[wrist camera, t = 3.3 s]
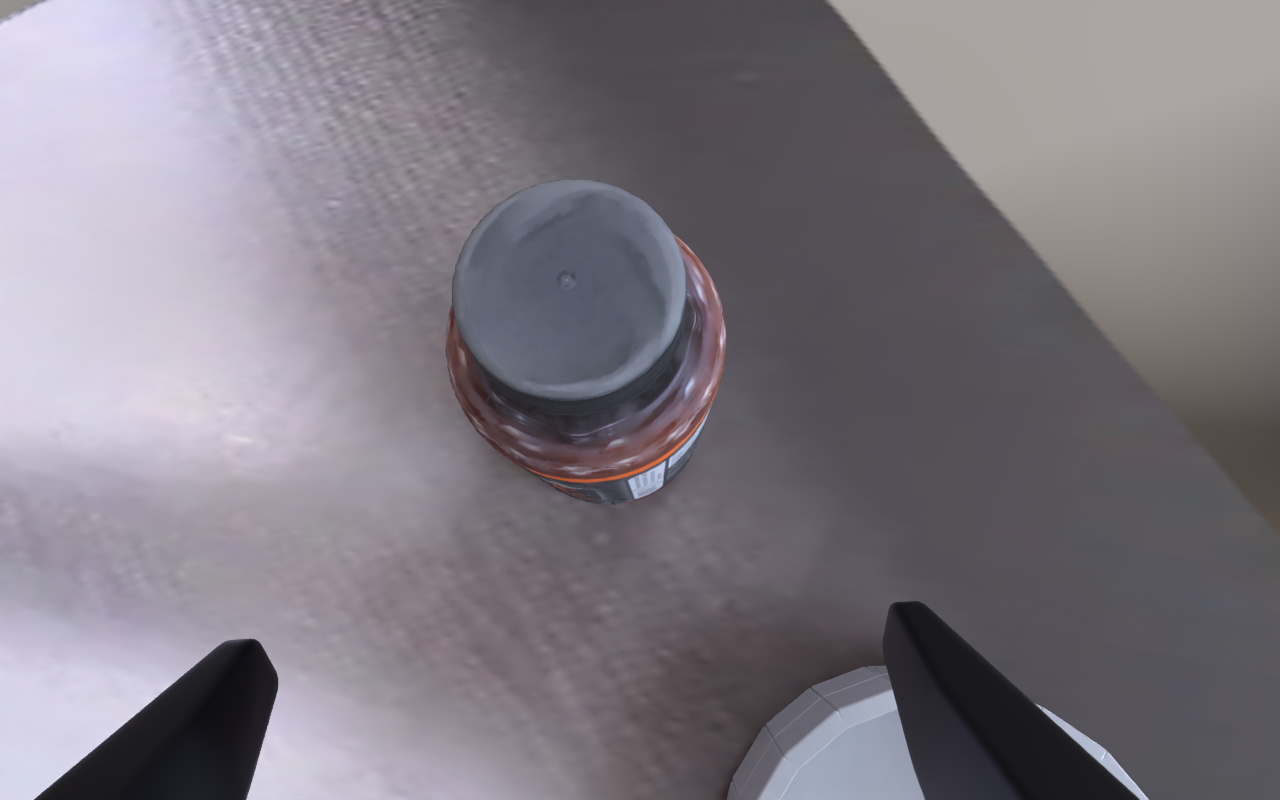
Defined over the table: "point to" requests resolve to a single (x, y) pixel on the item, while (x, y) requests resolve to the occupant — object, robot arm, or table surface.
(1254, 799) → the table surface
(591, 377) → the supplement bottle
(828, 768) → the pan
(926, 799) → the robot arm
